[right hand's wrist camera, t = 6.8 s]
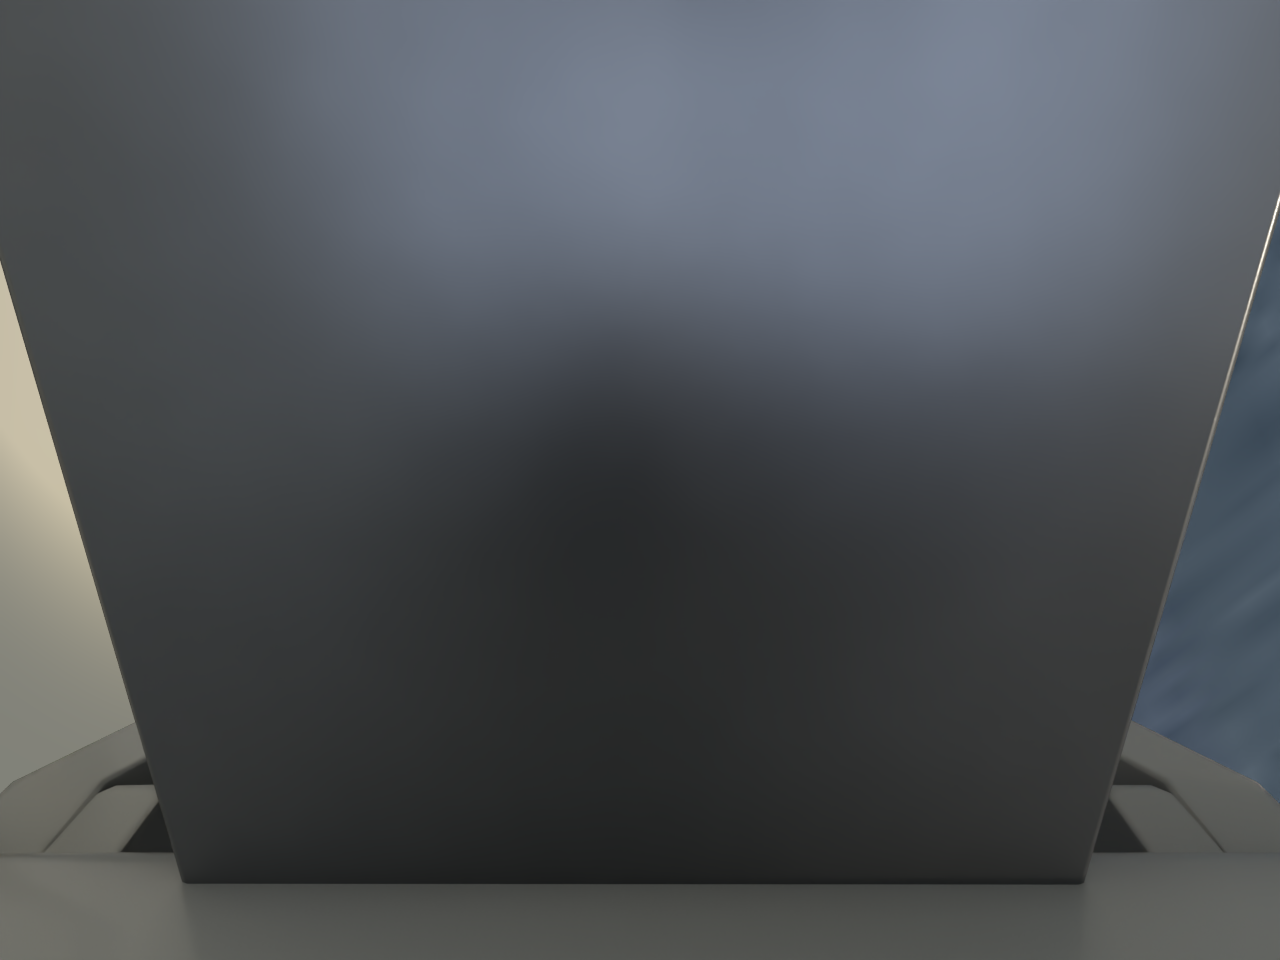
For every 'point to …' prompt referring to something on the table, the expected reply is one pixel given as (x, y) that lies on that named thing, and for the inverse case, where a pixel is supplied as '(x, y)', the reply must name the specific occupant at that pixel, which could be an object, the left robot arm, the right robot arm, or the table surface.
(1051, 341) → the bar
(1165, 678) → the table surface
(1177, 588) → the table surface
